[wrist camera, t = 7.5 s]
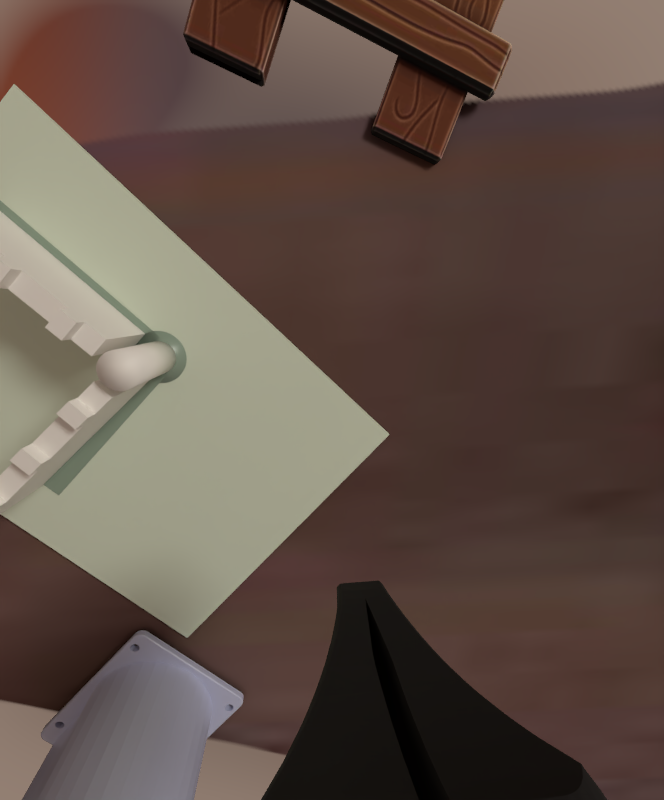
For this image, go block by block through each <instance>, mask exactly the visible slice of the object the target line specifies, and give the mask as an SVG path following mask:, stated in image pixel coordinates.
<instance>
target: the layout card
mask: <svg viewBox="0 0 664 800" xmlns="http://www.w3.org/2000/svg"><path fill="white" fill-rule="evenodd" d="M0 211H1V212H2V213H3V214H5V215H6V216H7V217H8V218H9V219H10V220H12V221H13V222H14V223H15V224H16V225H18V226H19V227H20V228H21V229H22V230H23V231H25V232H26V233H27V234H28V235H29V236H31V237H32V238H33V239H34V240H35V241H36V242H38V243H39V244H40V245H41V246H42V247H43V248H45V249H46V250H47V251H48V252H49V253H51V254H52V255H53V256H54V257H55V258H56V259H58V260H59V261H60V262H61V263H62V264H64V265H65V266H66V267H67V268H68V269H69V270H71V271H72V272H73V273H74V274H75V275H76V276H78V277H79V278H80V279H81V280H82V281H84V282H85V283H86V284H87V285H88V286H89V287H91V288H92V289H93V290H94V291H95V292H97V293H98V294H99V295H100V296H101V297H102V298H104V299H105V300H106V301H107V302H108V303H109V304H111V305H112V306H113V307H114V308H115V309H117V310H118V311H119V312H120V313H121V314H122V315H124V316H125V317H126V318H127V319H128V320H130V321H131V322H132V323H133V324H134V325H135V326H137V327H138V328H139V329H140V330H141V331H142V332H144V333H145V335H144V336H143V337H142V338H141V339H140V340H139V342H138V343H137V344H136V345H140V344H145V343H150V342H154V341H161V342H165V343H167V344H168V345H170V346H171V347H172V348H173V350H174V352H175V355H176V363H175V365H174V367H173V368H172V369H171V370H170V371H168V372H166V373H164V374H162V375H160V376H157V377H155V378H153V379H151V380H149V381H148V382H147V383H146V384H145V385H144V386H143V387H142V388H141V389H140V390H139V391H138V392H137V393H136V394H135V395H134V396H133V397H132V398H131V399H130V400H129V401H128V402H127V403H126V404H125V405H124V406H123V407H122V408H121V409H120V410H119V411H118V412H117V413H116V414H115V415H114V416H113V417H112V418H110V419H109V420H108V421H107V422H106V423H105V424H104V425H103V426H102V427H101V428H100V429H99V430H98V431H97V432H96V433H95V434H94V435H93V436H92V437H91V438H90V439H89V440H88V441H87V442H86V443H85V444H84V445H83V446H82V447H81V448H80V449H79V450H78V451H77V452H76V453H75V454H74V455H73V456H72V457H71V458H70V459H69V460H68V461H67V462H66V463H65V464H64V465H63V466H62V467H61V468H60V469H59V470H58V471H57V472H56V473H55V474H54V475H53V476H52V477H51V478H50V479H49V480H48V481H47V482H45V483H44V484H43V485H42V486H41V487H40V488H38V489H37V490H35V491H34V492H32V493H31V494H29V495H28V496H26V497H25V498H24V499H22V500H21V501H19V502H18V503H16V504H15V505H13V506H12V507H10V508H9V509H7V510H6V511H4V512H3V513H1V515H2V516H4V517H5V518H7V519H9V520H10V521H12V522H13V523H15V524H16V525H18V526H19V527H21V528H22V529H24V530H25V531H27V532H28V533H30V534H31V535H33V536H34V537H36V538H37V539H39V540H40V541H42V542H43V543H45V544H46V545H48V546H49V547H51V548H52V549H54V550H55V551H57V552H58V553H60V554H61V555H63V556H64V557H66V558H67V559H69V560H70V561H72V562H73V563H75V564H76V565H78V566H79V567H81V568H82V569H84V570H85V571H87V572H88V573H90V574H91V575H93V576H94V577H96V578H97V579H99V580H100V581H102V582H103V583H105V584H106V585H108V586H109V587H111V588H112V589H114V590H115V591H117V592H118V593H120V594H121V595H123V596H124V597H126V598H128V599H129V600H131V601H132V602H134V603H135V604H137V605H138V606H140V607H141V608H143V609H144V610H146V611H147V612H149V613H150V614H152V615H153V616H155V617H156V618H158V619H159V620H161V621H162V622H164V623H165V624H167V625H168V626H170V627H171V628H173V629H174V630H176V631H177V632H179V633H180V634H182V635H183V636H185V637H186V638H188V637H189V636H190V635H191V634H192V633H193V632H194V631H195V630H196V629H197V628H198V627H199V626H200V625H201V624H202V623H203V622H204V621H205V620H206V619H207V618H208V617H209V616H210V615H211V614H212V613H213V612H214V611H215V610H216V609H217V608H218V607H219V606H220V605H221V603H222V602H223V601H224V600H225V599H226V598H227V597H228V596H229V595H230V594H231V593H232V592H233V591H234V590H235V589H236V588H237V587H238V586H239V585H240V584H241V583H242V582H243V581H244V580H245V579H246V578H247V577H248V576H249V575H250V574H251V573H252V572H253V571H254V570H255V569H256V568H257V567H258V566H259V565H260V564H261V563H262V562H263V561H264V560H265V559H266V558H267V557H268V556H269V555H270V554H271V553H272V552H273V551H274V550H275V549H276V548H277V547H278V546H279V545H280V544H281V543H282V542H283V541H284V540H285V539H286V538H287V537H288V536H289V535H290V534H291V533H292V532H293V531H294V530H295V529H296V528H297V527H298V526H299V525H300V524H301V523H302V522H303V521H304V520H305V519H306V518H307V517H308V516H309V515H310V514H311V513H312V512H313V511H314V510H315V509H316V508H317V507H318V506H319V505H320V504H321V503H322V502H323V501H324V500H325V499H326V498H327V497H328V496H329V495H330V494H331V493H332V492H333V491H334V490H335V489H336V488H337V487H338V486H339V485H340V484H341V483H342V482H343V481H344V480H345V479H346V478H347V477H348V476H349V475H350V474H351V473H352V472H353V471H354V470H355V469H356V468H357V467H358V466H359V465H360V464H361V463H362V462H363V461H364V460H365V459H366V458H367V457H368V456H369V455H370V454H371V453H372V452H373V451H374V450H375V449H376V448H377V447H378V446H379V444H380V443H381V442H382V441H383V440H384V439H385V438H386V437H387V436H388V435H389V433H388V432H387V431H386V430H384V429H383V428H382V427H381V426H380V425H379V424H378V423H377V422H376V421H375V420H374V419H373V418H372V417H371V416H369V415H368V414H367V413H366V412H365V411H364V410H363V409H362V408H361V407H360V406H359V405H358V404H357V403H356V402H354V401H353V400H352V399H351V398H350V397H349V396H348V395H347V394H346V393H345V392H344V391H343V390H342V389H341V388H339V387H338V386H337V385H336V384H335V383H334V382H333V381H332V380H331V379H330V378H329V377H328V376H327V375H326V374H324V373H323V372H322V371H321V370H320V369H319V368H318V367H317V366H316V365H315V364H314V363H313V362H312V361H311V360H309V359H308V358H307V357H306V356H305V355H304V354H303V353H302V352H301V351H300V350H299V349H298V348H297V347H296V346H294V345H293V344H292V343H291V342H290V341H289V340H288V339H287V338H286V337H285V336H284V335H283V334H282V333H281V332H279V331H278V330H277V329H276V328H275V327H274V326H273V325H272V324H271V323H270V322H269V321H268V320H267V319H266V318H264V317H263V316H262V315H261V314H260V313H259V312H258V311H257V310H256V309H255V308H254V307H253V306H252V305H251V304H250V303H248V302H247V301H246V300H245V299H244V298H243V297H242V296H241V295H240V294H239V293H238V292H237V291H236V290H235V289H233V288H232V287H231V286H230V285H229V284H228V283H227V282H226V281H225V280H224V279H223V278H222V277H221V276H220V275H218V274H217V273H216V272H215V271H214V270H213V269H212V268H211V267H210V266H209V265H208V264H207V263H206V262H205V261H203V260H202V259H201V258H200V257H199V256H198V255H197V254H196V253H195V252H194V251H193V250H192V249H191V248H190V247H188V246H187V245H186V244H185V243H184V242H183V241H182V240H181V239H180V238H179V237H178V236H177V235H176V234H175V233H173V232H172V231H171V230H170V229H169V228H168V227H167V226H166V225H165V224H164V223H163V222H162V221H161V220H160V219H158V218H157V217H156V216H155V215H154V214H153V213H152V212H151V211H150V210H149V209H148V208H147V207H146V206H145V205H143V204H142V203H141V202H140V201H139V200H138V199H137V198H136V197H135V196H134V195H133V194H132V193H131V192H130V191H129V190H127V189H126V188H125V187H124V186H123V185H122V184H121V183H120V182H119V181H118V180H117V179H116V178H115V177H114V176H112V175H111V174H110V173H109V172H108V171H107V170H106V169H105V168H104V167H103V166H102V165H101V164H100V163H99V162H97V161H96V160H95V159H94V158H93V157H92V156H91V155H90V154H89V153H88V152H87V151H86V150H85V149H84V148H82V147H81V146H80V145H79V144H78V143H77V142H76V141H75V140H74V139H73V138H71V136H69V134H67V133H66V132H65V131H64V130H63V129H62V128H61V127H60V126H59V125H58V124H57V123H56V122H55V121H54V120H52V119H51V118H50V117H49V116H48V115H47V114H46V113H45V112H44V111H43V110H42V109H41V108H40V107H38V106H37V105H36V104H35V103H34V102H33V101H32V100H31V99H30V98H29V97H28V96H27V95H26V94H25V93H23V92H22V91H21V90H20V89H19V88H18V87H17V86H16V85H15V84H14V85H13V86H12V87H11V89H10V90H9V91H8V93H7V94H6V95H5V97H4V98H3V99H2V101H1V102H0ZM48 323H49V322H48V321H47V320H46V319H45V318H43V317H42V316H41V315H40V314H38V313H37V312H36V311H35V310H33V309H32V308H31V307H30V306H28V305H27V304H26V303H25V302H23V301H22V300H21V299H20V298H18V297H17V296H16V295H15V294H13V293H12V292H11V291H10V290H9V289H3V288H0V475H1V474H2V473H3V472H4V471H5V470H6V469H7V468H8V467H9V466H10V465H11V464H12V462H11V461H10V460H11V459H12V458H13V457H14V456H15V455H16V454H17V453H18V452H19V451H20V450H21V449H22V448H24V447H26V446H28V445H30V444H32V443H33V442H34V441H35V440H36V439H37V438H38V437H39V436H40V435H41V434H42V433H43V432H44V431H45V430H46V429H47V428H48V427H49V426H50V425H51V424H52V423H53V422H54V421H55V420H56V419H57V418H58V417H59V416H58V415H57V414H56V413H57V412H58V411H59V410H60V409H61V408H62V407H63V406H64V405H65V404H66V403H67V402H68V401H71V400H73V399H76V398H78V397H79V396H80V395H81V394H82V393H83V392H84V391H85V390H86V389H87V388H88V387H89V386H90V385H91V384H92V383H93V382H94V381H97V380H99V378H98V376H97V372H96V365H97V362H98V360H99V358H100V357H101V356H102V355H103V354H100V355H95V356H91V355H89V354H88V353H87V352H86V351H84V350H83V349H82V348H81V347H79V346H78V345H77V344H76V343H74V342H73V341H72V340H71V339H70V340H62V341H61V340H60V339H59V338H58V337H56V336H55V335H54V334H53V333H51V332H50V331H49V330H48V329H46V328H45V327H46V325H47V324H48Z"/></svg>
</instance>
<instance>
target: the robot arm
mask: <svg viewBox="0 0 664 800" xmlns="http://www.w3.org/2000/svg"><path fill="white" fill-rule="evenodd" d="M134 644H136V645H138V646H135V645H134ZM243 697H244V696H243V694H242V693H241V692H240V691H238V690H237V689H235V688H234V687H232V686H231V685H229V684H228V683H226V682H225V681H223V680H222V679H220V678H218V677H217V676H215V675H214V674H212V673H211V672H209V671H208V670H206V669H205V668H203V667H202V666H200V665H198V664H197V663H195V662H194V661H192V660H191V659H189V658H188V657H186V656H185V655H183V654H182V653H180V652H178V651H177V650H175V649H174V648H172V647H171V646H169V645H168V644H166V643H165V642H163V641H162V640H160V639H159V638H157V637H155V636H154V635H152V634H151V633H149V632H148V631H145V630H141V631H138V632H136V633H135V634H134V635H133V636H132V637H131V638H130V639H129V640H128V641H127V642H126V643H125V644H124V645H123V646H122V647H121V648H120V650H119V651H118V652H117V653H116V654H115V655H114V656H113V657H112V658H111V659H110V660H109V661H108V662H107V663H106V664H105V665H104V666H103V667H102V668H101V669H100V670H99V671H98V672H97V673H96V674H95V675H94V676H93V677H92V678H91V679H90V680H89V681H88V682H87V683H86V685H85V686H84V687H83V688H82V689H81V690H80V691H79V692H78V693H77V694H76V695H75V696H74V697H73V698H72V699H71V700H70V701H69V702H68V703H67V704H66V705H65V706H64V707H63V708H62V709H61V710H60V711H59V712H58V713H57V714H56V715H55V716H54V717H53V718H52V720H51V721H50V722H49V723H48V724H47V725H46V726H45V727H44V729H43V731H42V732H41V737H42V739H43V740H45V741H47V742H49V743H50V744H52V745H53V746H52V748H51V750H50V751H49V753H48V755H47V756H46V758H45V760H44V762H43V764H42V765H41V767H40V769H39V771H38V772H37V774H36V776H35V778H34V780H33V781H32V783H31V785H30V787H29V788H28V790H27V792H26V794H25V795H24V797H23V799H22V800H194V796H195V791H196V787H197V781H198V777H199V772H200V768H201V763H202V758H203V754H204V748H205V744H206V740H207V738H208V737H209V736H210V735H211V734H212V733H213V732H214V731H215V730H216V729H217V728H218V727H219V726H221V725H222V724H223V723H224V722H225V721H226V720H227V719H228V718H229V717H230V716H231V715H232V714H233V713H234V712H235V711H236V710H237V709H238V708H239V707H240V706H241V705H242V704H243ZM229 704H230V705H229ZM261 800H607V799H606V797H605V796H604V795H603V793H602V792H601V790H600V789H599V787H598V786H597V785H596V783H595V782H594V781H593V779H592V778H591V777H590V775H589V774H588V773H587V772H586V770H585V769H584V767H583V766H582V764H581V763H579V762H577V761H576V760H574V759H572V758H571V757H569V756H568V755H566V754H564V753H563V752H561V751H559V750H558V749H556V748H555V747H553V746H551V745H550V744H548V743H546V742H545V741H543V740H542V739H540V738H538V737H537V736H535V735H534V734H532V733H531V732H530V731H528V730H527V729H525V728H524V727H522V726H521V725H520V724H518V723H517V722H515V721H514V720H512V719H511V718H510V717H508V716H507V715H506V714H504V713H503V712H502V711H500V710H499V709H498V708H497V707H495V706H494V705H493V704H492V703H490V702H489V701H488V700H487V699H485V698H484V697H483V696H482V695H480V694H479V693H478V692H477V691H476V690H474V689H473V688H472V687H471V686H470V685H469V684H468V683H466V682H465V681H464V680H463V679H462V678H461V677H460V676H459V675H458V674H457V673H456V672H455V671H454V670H453V669H451V668H450V667H449V666H448V665H447V664H446V663H445V662H444V660H443V659H442V658H441V657H440V656H439V655H438V654H437V653H436V652H435V651H434V650H433V649H432V648H431V647H430V646H429V644H428V643H427V642H426V641H425V640H424V639H423V638H422V636H421V635H420V634H419V633H418V632H417V631H416V629H415V628H414V627H413V626H412V624H411V623H410V622H409V621H408V619H407V618H406V617H405V616H404V614H403V613H402V612H401V610H400V609H399V608H398V606H397V605H396V604H395V602H394V601H393V599H392V598H391V597H390V595H389V594H388V592H387V591H386V589H385V588H384V586H383V584H382V583H381V582H380V581H369V582H356V583H343V584H340V585H339V586H338V587H337V614H336V620H335V626H334V631H333V636H332V640H331V644H330V648H329V651H328V655H327V659H326V662H325V666H324V669H323V672H322V675H321V678H320V681H319V683H318V686H317V689H316V692H315V694H314V697H313V699H312V702H311V704H310V707H309V709H308V712H307V714H306V716H305V718H304V721H303V723H302V725H301V727H300V729H299V731H298V733H297V735H296V737H295V739H294V741H293V743H292V745H291V747H290V749H289V751H288V753H287V755H286V757H285V759H284V761H283V763H282V765H281V767H280V768H279V770H278V772H277V774H276V775H275V777H274V779H273V780H272V782H271V784H270V785H269V787H268V789H267V791H266V792H265V794H264V796H263V797H262V799H261Z"/></svg>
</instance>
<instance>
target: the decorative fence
mask: <svg viewBox="0 0 664 800" xmlns="http://www.w3.org/2000/svg"><path fill="white" fill-rule="evenodd" d="M294 1H295V2H298V3H299V4H301V5H303V6H305V7H307V8H309V9H311V10H312V11H315V12H316V13H318V14H320V15H322V16H324V17H326V18H328V19H330V20H332V21H333V22H335V23H337V24H339V25H341V26H343V27H345V28H347V29H349V30H351V31H353V32H354V33H356V34H358V35H360V36H362V37H364V38H366V39H368V40H370V41H372V42H373V43H376V44H377V45H379V46H381V47H383V48H385V49H387V50H389V51H391V52H393V53H395V54H396V55H398V57H397V60H396V63H395V65H394V69H393V71H392V74H391V76H390V79H389V82H388V85H387V88H386V90H385V93H384V96H383V99H382V102H381V105H380V107H379V110H378V112H377V116H376V119H375V121H374V124H373V127H372V130H371V132H372V135H374V136H376V137H378V138H380V139H382V140H385V141H387V142H389V143H391V144H393V145H395V146H397V147H399V148H401V149H403V150H405V151H407V152H409V153H411V154H414V155H416V156H418V157H420V158H422V159H424V160H426V161H428V162H430V163H432V164H436V163H438V162H439V161H440V160H441V158H442V155H443V153H444V150H445V148H446V145H447V143H448V140H449V138H450V135H451V133H452V130H453V128H454V125H455V123H456V120H457V118H458V115H459V112H460V110H461V107H462V105H463V102H464V100H465V97H466V95H467V92H469V93H471V94H473V95H475V96H477V97H478V98H480V99H482V100H484V101H486V100H488V99H490V98H491V97H492V96H493V95H494V93H495V91H496V89H497V86H498V84H499V81H500V79H501V76H502V74H503V72H504V69H505V67H506V64H507V62H508V59H509V57H510V54H511V52H512V46H511V43H509V42H507V41H506V40H504V39H502V38H500V37H498V36H497V35H495V34H493V33H491V32H492V29H493V27H494V24H495V22H496V19H497V17H498V14H499V12H500V9H501V7H502V4H503V1H504V0H294ZM290 2H291V0H192V3H191V7H190V11H189V14H188V18H187V22H186V25H185V29H184V33H183V35H184V37H185V40H186V42H187V45H188V47H189V49H190V52H191V53H192V54H194V55H196V56H198V57H200V58H202V59H205V60H207V61H209V62H211V63H213V64H215V65H217V66H219V67H221V68H223V69H225V70H227V71H229V72H232V73H234V74H236V75H238V76H240V77H242V78H244V79H246V80H248V81H250V82H252V83H254V84H257V85H259V86H261V87H262V86H264V85H265V83H266V79H267V76H268V73H269V70H270V67H271V63H272V60H273V57H274V54H275V50H276V47H277V44H278V41H279V37H280V34H281V31H282V28H283V24H284V21H285V18H286V15H287V12H288V8H289V5H290Z"/></svg>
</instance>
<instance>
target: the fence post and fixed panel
mask: <svg viewBox="0 0 664 800" xmlns="http://www.w3.org/2000/svg"><path fill="white" fill-rule="evenodd" d="M0 288H3V289H9V290H10V291H11V292H12V293H13V294H15V295H16V296H17V297H18V298H20V299H21V300H22V301H23V302H25V303H26V304H27V305H28V306H30V307H31V308H32V309H33V310H35V311H36V312H37V313H38V314H40V315H41V316H42V317H43V318H45V319H46V320H47V321H48V322H49V323H48V324H47V325H46V327H45V328H46V329H48V330H49V331H50V332H51V333H53V334H54V335H55V336H56V337H58V338H59V339H60V340H61V341H62V340H70V339H71V340H72V341H73V342H74V343H76V344H77V345H78V346H79V347H81V348H82V349H83V350H84V351H86V352H87V353H88V354H89V355H91V356H95V355H100V354H103V355H102V356H101V357H100V358H99V360H98V362H97V365H96V372H97V376H98V378H99V380H100V381H101V382H102V384H103V385H105V386H106V387H107V388H109V389H111V390H114V391H126V390H129V389H131V388H134V387H136V386H138V385H140V384H142V383H144V382H147V381H149V380H151V379H153V378H155V377H157V376H160V375H162V374H164V373H166V372H168V371H170V370H171V369H172V368H173V367H174V365H175V363H176V355H175V352H174V350H173V348H172V347H171V346H170V345H168V344H167V343H165V342H161V341H154V342H150V343H145V344H140V345H136V344H137V343H138V342H139V340H140V339H141V338H142V337H143V336H144V335H145V333H144V332H142V331H141V330H140V329H139V328H138V327H137V326H135V325H134V324H133V323H132V322H131V321H130V320H128V319H127V318H126V317H125V316H124V315H122V314H121V313H120V312H119V311H118V310H117V309H115V308H114V307H113V306H112V305H111V304H109V303H108V302H107V301H106V300H105V299H104V298H102V297H101V296H100V295H99V294H98V293H97V292H95V291H94V290H93V289H92V288H91V287H89V286H88V285H87V284H86V283H85V282H84V281H82V280H81V279H80V278H79V277H78V276H76V275H75V274H74V273H73V272H72V271H71V270H69V269H68V268H67V267H66V266H65V265H64V264H62V263H61V262H60V261H59V260H58V259H56V258H55V257H54V256H53V255H52V254H51V253H49V252H48V251H47V250H46V249H45V248H43V247H42V246H41V245H40V244H39V243H38V242H36V241H35V240H34V239H33V238H32V237H31V236H29V235H28V234H27V233H26V232H25V231H23V230H22V229H21V228H20V227H19V226H18V225H16V224H15V223H14V222H13V221H12V220H10V219H9V218H8V217H7V216H6V215H5V214H3V213H2V212H1V211H0Z"/></svg>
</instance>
